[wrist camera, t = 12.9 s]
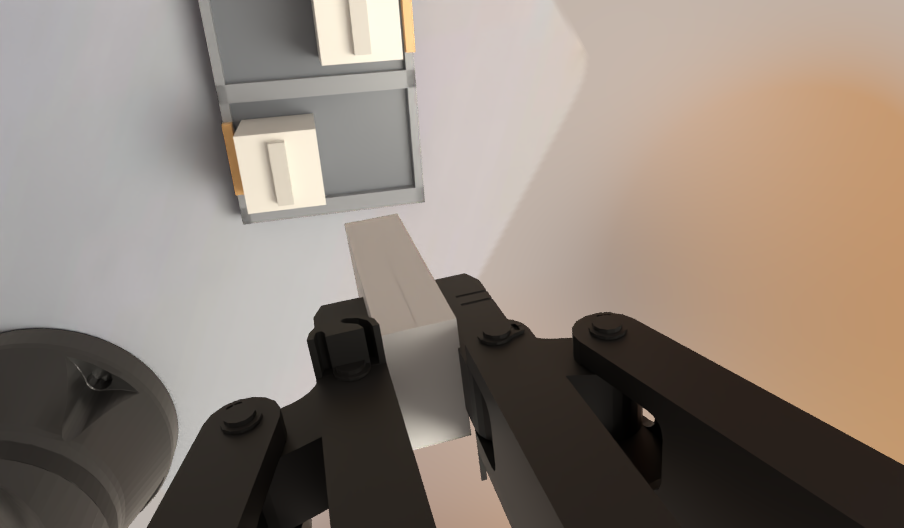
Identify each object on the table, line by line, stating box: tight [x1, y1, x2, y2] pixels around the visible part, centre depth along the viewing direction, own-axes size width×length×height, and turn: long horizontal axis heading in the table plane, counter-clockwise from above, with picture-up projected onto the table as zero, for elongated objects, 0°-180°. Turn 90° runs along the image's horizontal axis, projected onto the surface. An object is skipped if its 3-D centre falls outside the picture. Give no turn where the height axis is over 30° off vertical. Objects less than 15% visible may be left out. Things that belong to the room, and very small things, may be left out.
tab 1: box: [233, 113, 326, 214], centre depth 33 cm, size 4×4×6 cm
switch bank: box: [198, 0, 425, 224], centre depth 34 cm, size 11×22×2 cm, turn 3°
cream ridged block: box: [311, 0, 403, 66], centre depth 32 cm, size 4×4×6 cm
